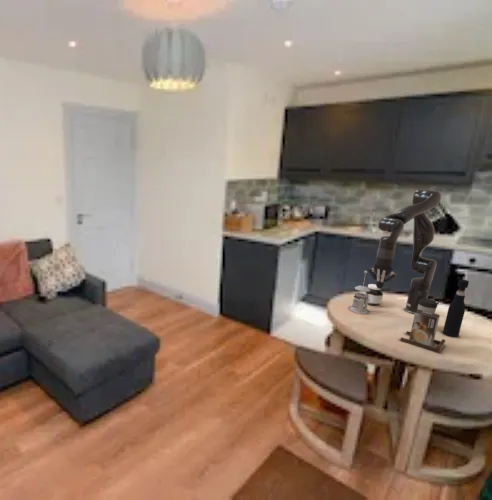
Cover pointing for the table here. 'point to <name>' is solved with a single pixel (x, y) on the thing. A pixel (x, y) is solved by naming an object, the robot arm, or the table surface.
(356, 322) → the table surface
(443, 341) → the bay
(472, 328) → the table surface
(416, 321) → the coffee box
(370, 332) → the table surface
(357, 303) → the french press
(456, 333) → the dark water bottle
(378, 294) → the spread jar
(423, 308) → the coffee cup
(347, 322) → the table surface
